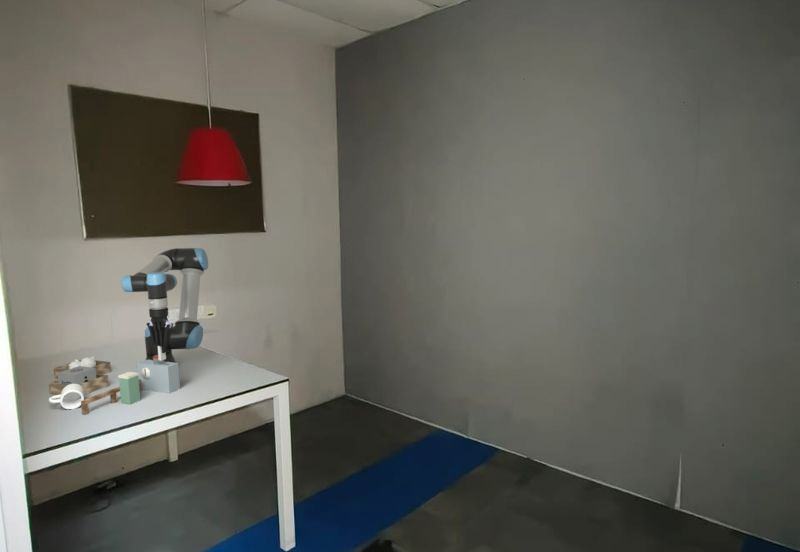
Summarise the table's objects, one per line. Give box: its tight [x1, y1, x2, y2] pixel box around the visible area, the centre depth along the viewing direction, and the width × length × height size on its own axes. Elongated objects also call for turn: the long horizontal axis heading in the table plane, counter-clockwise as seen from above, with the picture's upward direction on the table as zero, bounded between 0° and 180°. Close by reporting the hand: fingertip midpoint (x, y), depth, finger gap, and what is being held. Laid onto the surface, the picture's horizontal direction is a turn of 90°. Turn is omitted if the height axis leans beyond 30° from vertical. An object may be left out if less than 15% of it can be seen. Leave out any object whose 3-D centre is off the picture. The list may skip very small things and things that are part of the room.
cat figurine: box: [68, 356, 96, 369], centre depth 242 cm, size 9×11×12 cm
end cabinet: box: [136, 359, 181, 394], centre depth 217 cm, size 7×18×12 cm, turn 70°
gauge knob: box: [153, 355, 164, 364], centre depth 217 cm, size 3×3×3 cm
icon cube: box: [57, 366, 96, 385], centre depth 216 cm, size 10×10×10 cm
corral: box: [48, 359, 112, 396], centre depth 229 cm, size 32×36×5 cm
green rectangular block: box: [118, 371, 141, 406], centre depth 203 cm, size 5×5×12 cm
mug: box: [48, 384, 85, 410], centre depth 199 cm, size 12×10×8 cm
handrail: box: [80, 379, 143, 416], centre depth 203 cm, size 27×2×6 cm, turn 160°
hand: (162, 359), depth 216 cm, fingers closed
